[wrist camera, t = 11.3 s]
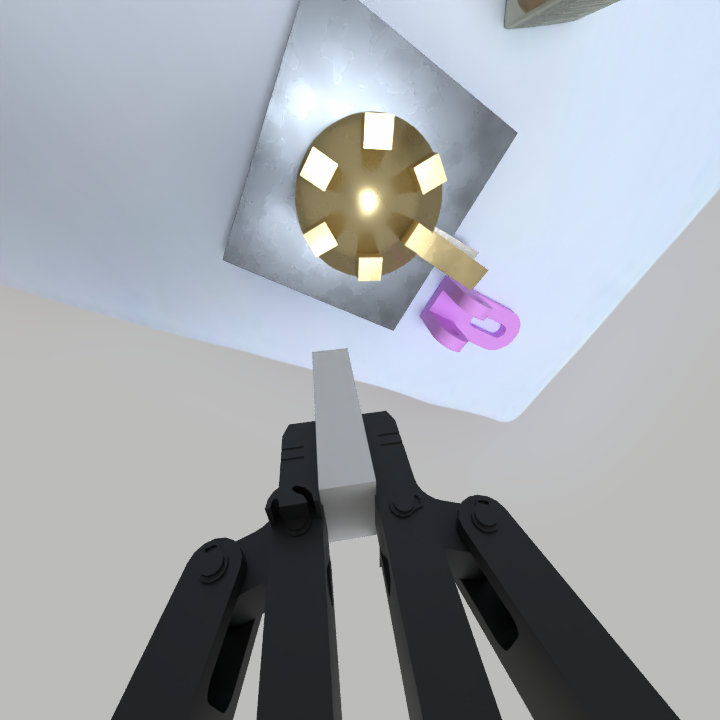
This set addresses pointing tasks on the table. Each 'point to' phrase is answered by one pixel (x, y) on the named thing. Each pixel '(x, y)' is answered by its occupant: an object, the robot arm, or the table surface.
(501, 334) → the bracket
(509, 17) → the skincare box
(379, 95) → the base plate
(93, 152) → the table surface
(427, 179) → the brass notched disc handle
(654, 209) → the table surface
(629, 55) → the table surface
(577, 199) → the table surface
